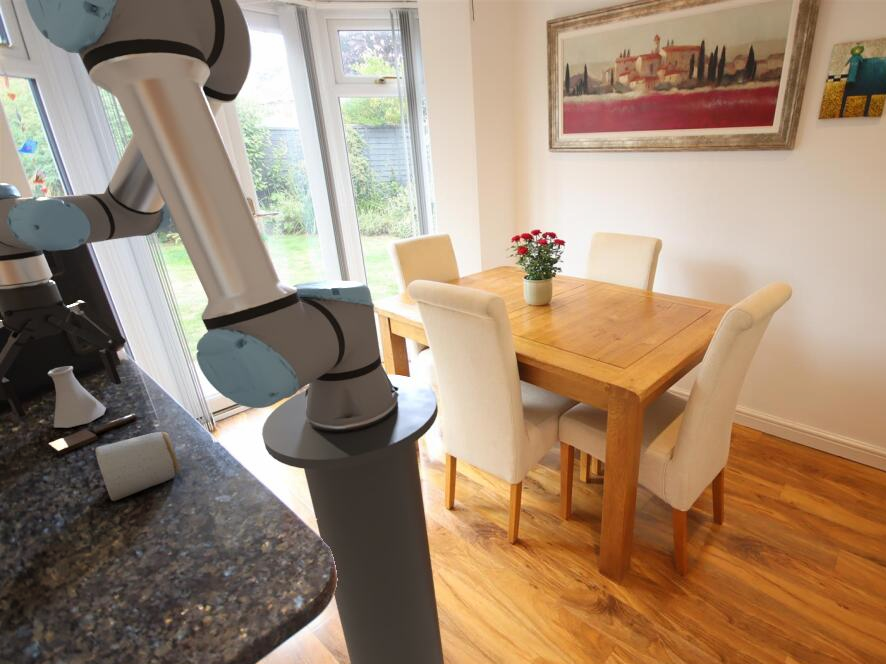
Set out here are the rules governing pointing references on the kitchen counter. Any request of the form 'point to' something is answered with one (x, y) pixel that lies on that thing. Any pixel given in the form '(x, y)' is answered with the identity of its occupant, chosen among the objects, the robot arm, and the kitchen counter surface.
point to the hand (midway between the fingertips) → (71, 397)
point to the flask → (73, 400)
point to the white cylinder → (137, 464)
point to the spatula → (86, 436)
